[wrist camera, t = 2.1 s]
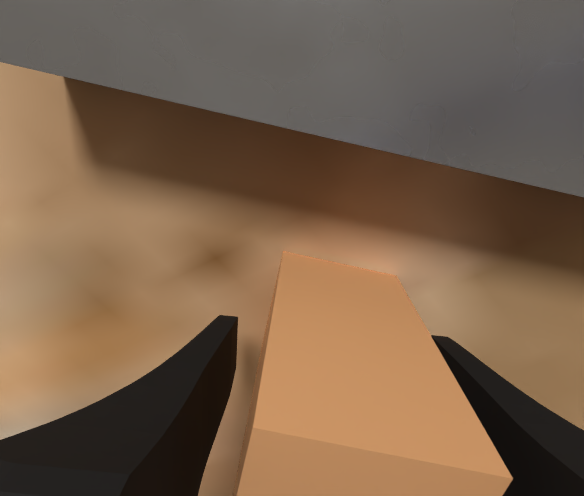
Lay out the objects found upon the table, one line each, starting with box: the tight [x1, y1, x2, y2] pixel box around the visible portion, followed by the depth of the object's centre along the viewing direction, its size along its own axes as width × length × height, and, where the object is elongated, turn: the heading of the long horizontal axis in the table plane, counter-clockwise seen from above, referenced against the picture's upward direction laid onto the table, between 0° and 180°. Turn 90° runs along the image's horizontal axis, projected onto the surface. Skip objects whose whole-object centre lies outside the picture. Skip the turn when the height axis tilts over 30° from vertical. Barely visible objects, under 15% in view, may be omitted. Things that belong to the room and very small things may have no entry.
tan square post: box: [233, 251, 513, 496], centre depth 10 cm, size 4×4×8 cm
